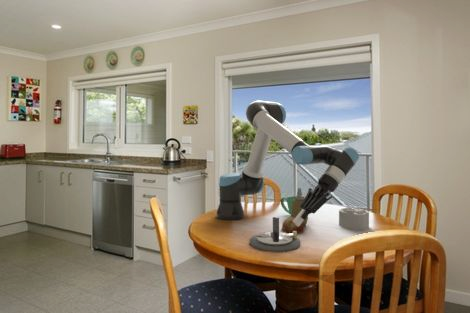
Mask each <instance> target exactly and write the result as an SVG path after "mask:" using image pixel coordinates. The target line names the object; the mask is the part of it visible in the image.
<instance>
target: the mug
mask: <svg viewBox="0 0 470 313" xmlns="http://www.w3.org/2000/svg"><path fill="white" fill-rule="evenodd" d="M294 199H295V196H287V197H285V196H283V197H282V198H280V206H281V207H282V209H283V210H284V211H285V213H287V214H289V215H290V216H291V213H292V203H293V200H294ZM284 200H285V201H286V204H287V206H286V205H285V203H284Z"/></svg>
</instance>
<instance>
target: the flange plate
mask: <svg viewBox="0 0 470 313" xmlns="http://www.w3.org/2000/svg"><path fill="white" fill-rule="evenodd" d="M256 235H257V241H258V242H260V243H262V244H265V245H272V246H280V245H287V244H290V243H291V242H292V238H293V233H290V234H289V233H285V232H283V231H282V232H281V231H280V216H273V217H272V231H266V232H264V231H263V232H261V233H259V234H256Z"/></svg>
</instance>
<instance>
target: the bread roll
mask: <svg viewBox="0 0 470 313" xmlns="http://www.w3.org/2000/svg"><path fill="white" fill-rule="evenodd" d="M294 219H295V218H294V217H291V216H289V217H287V218H285V219H284V221H283V222H282V226H281V231H282V233H287V234H290V233H293V231H297V234H302V233H304V231H305V226H306V225H304V224H303V223H301V224H300V226H299V227H298V226H296V225H295V224H294V223H293V222H292V221H293V220H294Z"/></svg>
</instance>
